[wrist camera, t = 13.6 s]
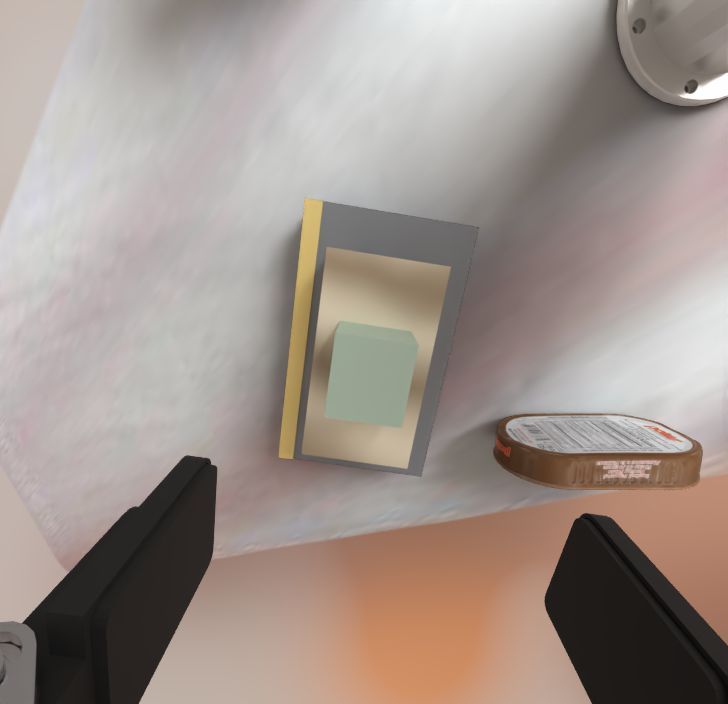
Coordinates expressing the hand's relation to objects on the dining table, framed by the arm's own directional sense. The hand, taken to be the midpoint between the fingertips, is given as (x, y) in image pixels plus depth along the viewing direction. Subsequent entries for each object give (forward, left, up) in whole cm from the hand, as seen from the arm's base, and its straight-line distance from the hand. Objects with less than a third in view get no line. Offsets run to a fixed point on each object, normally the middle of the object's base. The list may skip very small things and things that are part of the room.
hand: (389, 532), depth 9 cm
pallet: (0, 0, -18) cm, 18 cm away
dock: (0, 0, -22) cm, 22 cm away
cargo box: (0, 0, -14) cm, 14 cm away
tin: (+5, +19, -23) cm, 30 cm away
